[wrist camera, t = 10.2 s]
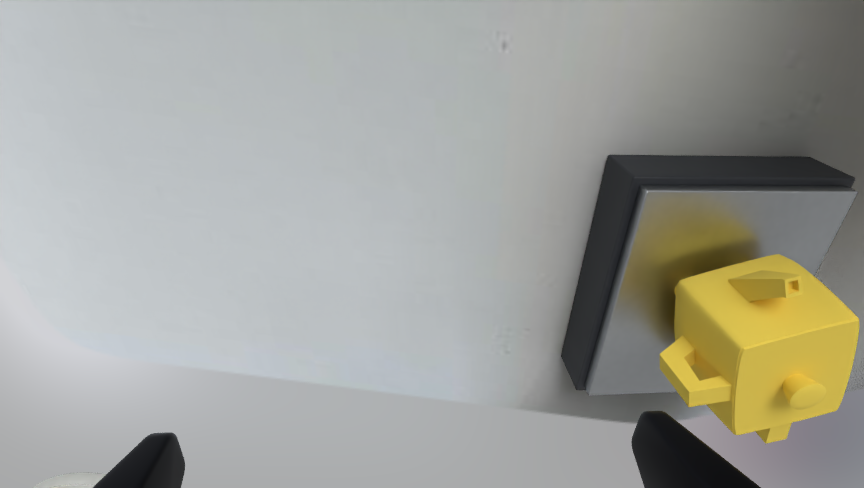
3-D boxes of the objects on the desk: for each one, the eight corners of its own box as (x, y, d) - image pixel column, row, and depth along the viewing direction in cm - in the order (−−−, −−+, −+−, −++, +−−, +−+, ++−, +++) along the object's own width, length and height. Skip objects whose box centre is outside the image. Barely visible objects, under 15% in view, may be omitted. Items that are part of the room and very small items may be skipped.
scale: (720, 355, 26) (756, 397, 24) (559, 360, 26) (579, 405, 23) (809, 156, 21) (870, 184, 18) (607, 154, 20) (641, 182, 17)
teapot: (628, 244, 19) (706, 333, 14) (780, 202, 18) (909, 280, 14) (638, 385, 23) (701, 490, 18) (762, 353, 22) (858, 451, 18)
